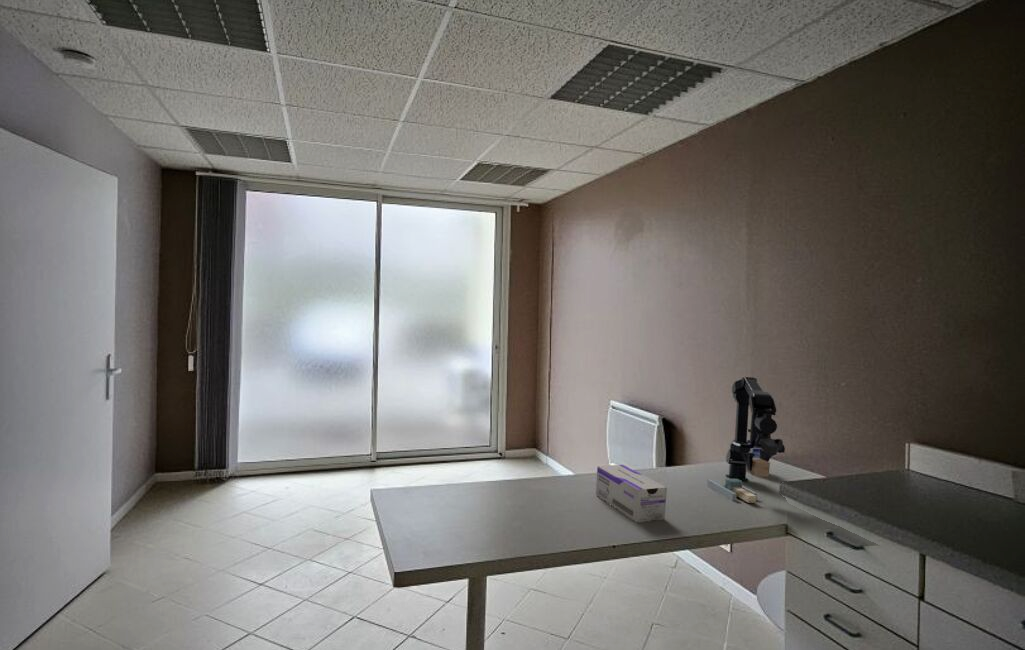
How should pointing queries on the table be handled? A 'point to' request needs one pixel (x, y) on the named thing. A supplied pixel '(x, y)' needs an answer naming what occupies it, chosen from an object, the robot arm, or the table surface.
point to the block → (759, 467)
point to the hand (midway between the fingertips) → (756, 470)
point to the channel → (726, 490)
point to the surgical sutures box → (631, 492)
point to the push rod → (739, 490)
